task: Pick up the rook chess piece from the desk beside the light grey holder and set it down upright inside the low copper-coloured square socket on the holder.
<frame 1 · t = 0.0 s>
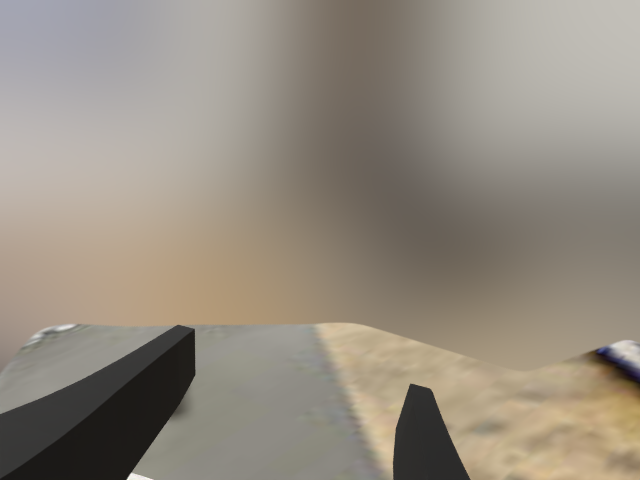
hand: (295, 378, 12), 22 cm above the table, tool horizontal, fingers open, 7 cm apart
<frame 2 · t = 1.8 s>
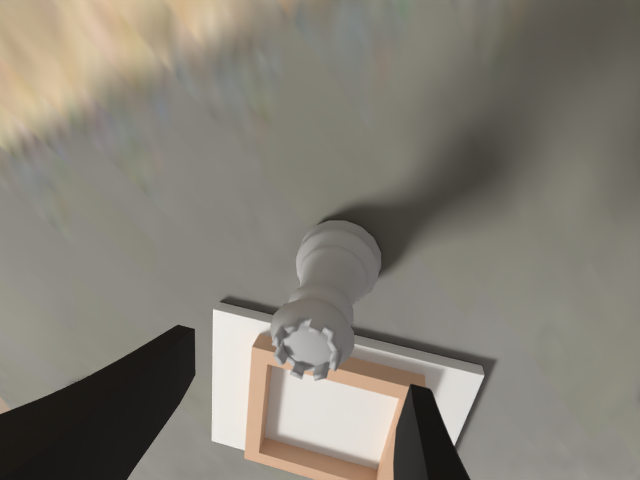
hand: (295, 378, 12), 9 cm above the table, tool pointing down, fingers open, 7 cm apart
socket holder: (330, 403, 25), on the table
rook chess piece: (341, 253, 21), on the table
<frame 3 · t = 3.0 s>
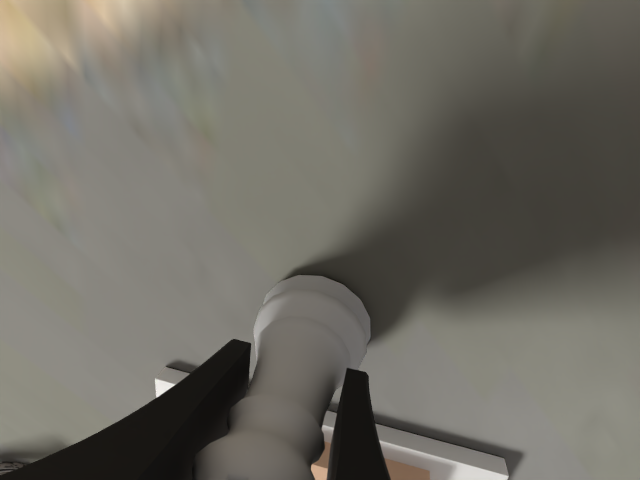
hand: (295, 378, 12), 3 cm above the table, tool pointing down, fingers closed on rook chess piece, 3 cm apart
wristwatch: (27, 467, 26), on the table
rook chess piece: (318, 314, 15), on the table, touching gripper
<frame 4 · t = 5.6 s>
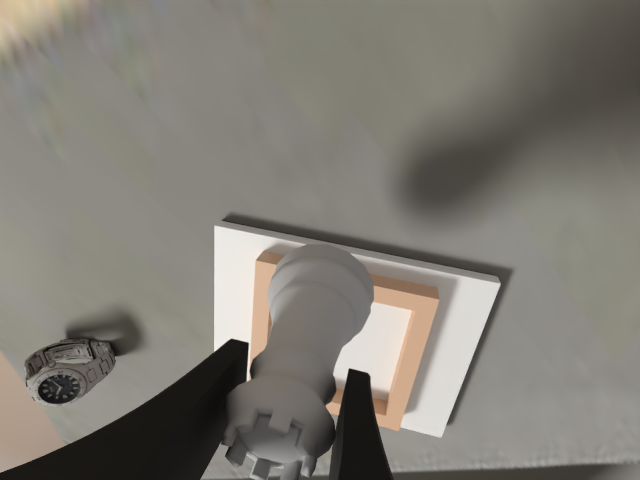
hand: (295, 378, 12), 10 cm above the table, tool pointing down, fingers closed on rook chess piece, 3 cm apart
socket holder: (337, 330, 24), on the table
wristwatch: (90, 343, 30), on the table
rook chess piece: (325, 280, 17), point 5 cm above the table, touching gripper
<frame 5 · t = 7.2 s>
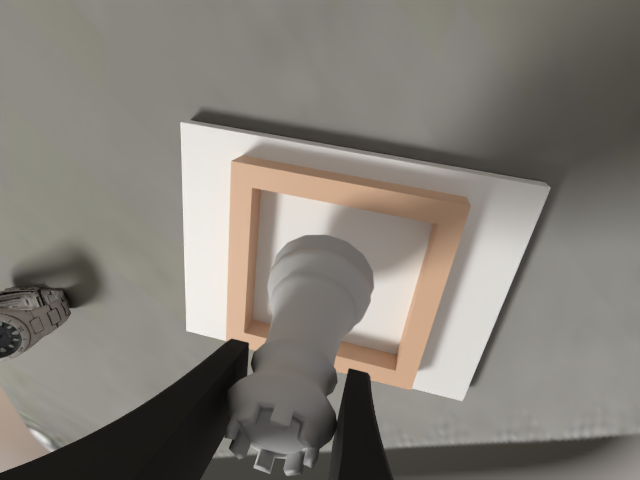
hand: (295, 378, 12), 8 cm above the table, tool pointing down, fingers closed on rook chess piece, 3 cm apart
socket holder: (335, 265, 19), on the table
wristwatch: (42, 293, 25), on the table
rook chess piece: (325, 270, 17), point 2 cm above the table, touching gripper
when the fingers open (5 cm above the table, at t = 8.1 s): rook chess piece stays where it is, resting on socket holder.
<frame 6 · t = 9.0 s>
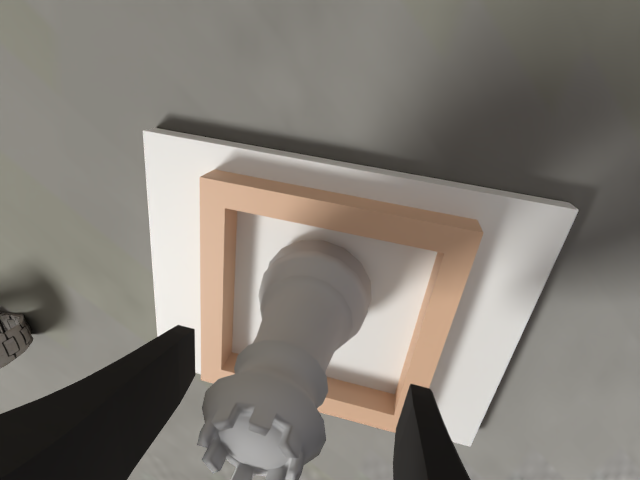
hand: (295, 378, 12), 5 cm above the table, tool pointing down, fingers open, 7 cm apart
socket holder: (325, 293, 17), on the table
wristwatch: (3, 318, 23), on the table
rook chess piece: (320, 280, 16), point 1 cm above the table, touching socket holder
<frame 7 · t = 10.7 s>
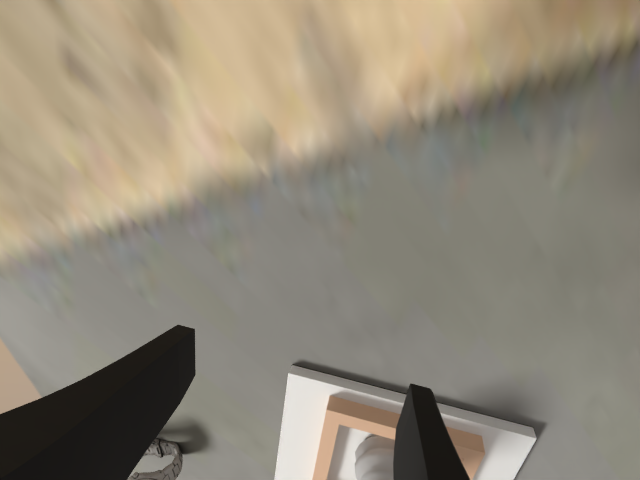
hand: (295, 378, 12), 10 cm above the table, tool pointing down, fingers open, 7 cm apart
socket holder: (388, 453, 28), on the table
wristwatch: (158, 441, 33), on the table
rook chess piece: (387, 451, 27), point 1 cm above the table, touching socket holder
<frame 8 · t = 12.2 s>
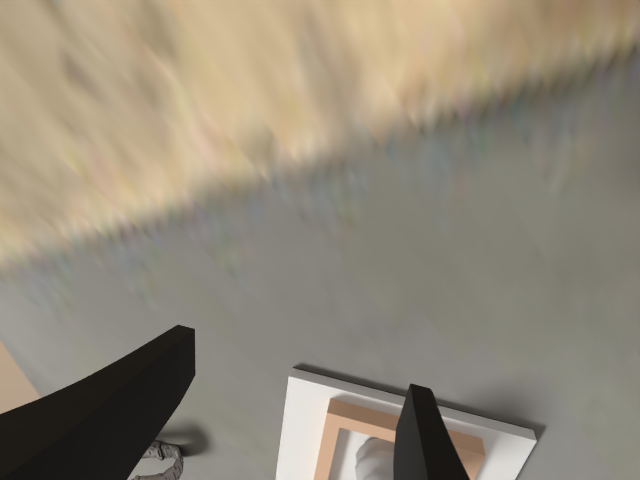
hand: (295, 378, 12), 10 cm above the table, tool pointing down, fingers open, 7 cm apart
socket holder: (388, 455, 28), on the table
wristwatch: (159, 444, 33), on the table
rook chess piece: (387, 453, 27), point 1 cm above the table, touching socket holder
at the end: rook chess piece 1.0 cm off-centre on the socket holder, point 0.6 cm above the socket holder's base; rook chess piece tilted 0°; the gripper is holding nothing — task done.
